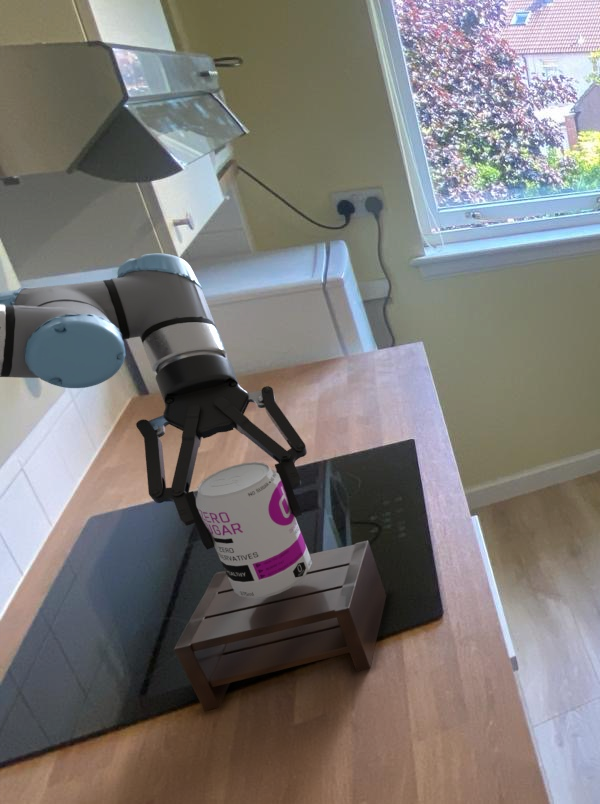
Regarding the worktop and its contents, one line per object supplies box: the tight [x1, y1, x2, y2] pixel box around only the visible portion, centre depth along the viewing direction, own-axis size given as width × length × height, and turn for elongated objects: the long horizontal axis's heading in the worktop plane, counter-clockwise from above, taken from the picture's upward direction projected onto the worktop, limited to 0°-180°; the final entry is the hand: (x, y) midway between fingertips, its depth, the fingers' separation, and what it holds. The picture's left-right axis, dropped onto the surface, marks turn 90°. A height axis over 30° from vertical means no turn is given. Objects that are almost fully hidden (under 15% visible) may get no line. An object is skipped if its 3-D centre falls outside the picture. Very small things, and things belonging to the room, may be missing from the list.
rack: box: [173, 540, 387, 712], centre depth 95 cm, size 18×14×10 cm
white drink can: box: [196, 461, 312, 599], centre depth 89 cm, size 8×8×15 cm
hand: (254, 528), depth 88 cm, fingers closed on white drink can, 8 cm apart
